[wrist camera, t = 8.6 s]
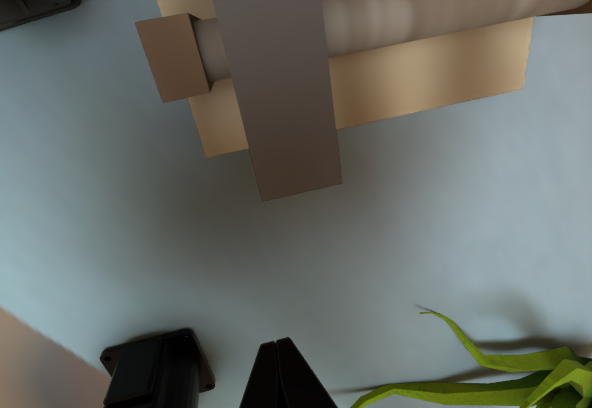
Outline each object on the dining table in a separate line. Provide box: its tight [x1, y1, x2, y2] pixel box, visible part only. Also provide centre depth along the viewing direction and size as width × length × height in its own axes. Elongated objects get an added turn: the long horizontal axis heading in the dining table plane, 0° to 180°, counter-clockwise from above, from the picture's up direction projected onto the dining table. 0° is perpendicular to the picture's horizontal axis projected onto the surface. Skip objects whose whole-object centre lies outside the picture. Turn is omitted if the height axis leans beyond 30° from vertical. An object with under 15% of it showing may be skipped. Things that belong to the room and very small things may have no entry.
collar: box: [212, 0, 342, 202], centre depth 12 cm, size 3×10×5 cm, turn 10°
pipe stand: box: [135, 0, 592, 158], centre depth 14 cm, size 18×10×6 cm, turn 100°
